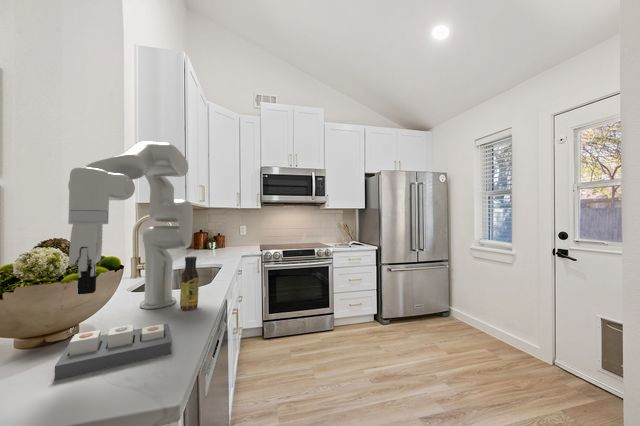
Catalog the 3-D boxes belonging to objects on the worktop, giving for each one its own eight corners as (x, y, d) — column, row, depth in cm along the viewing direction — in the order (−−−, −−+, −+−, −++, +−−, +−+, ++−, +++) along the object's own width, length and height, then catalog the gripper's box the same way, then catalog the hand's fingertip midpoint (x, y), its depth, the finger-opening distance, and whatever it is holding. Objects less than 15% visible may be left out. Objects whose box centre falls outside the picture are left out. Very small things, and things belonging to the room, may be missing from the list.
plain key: (110, 343, 70) (110, 327, 70) (133, 339, 73) (133, 324, 73) (107, 351, 66) (107, 335, 66) (132, 346, 69) (132, 330, 69)
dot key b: (74, 350, 67) (75, 333, 67) (100, 345, 69) (100, 329, 69) (69, 359, 62) (69, 341, 63) (97, 353, 65) (97, 336, 65)
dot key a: (142, 342, 74) (142, 327, 74) (163, 338, 77) (163, 323, 77) (141, 349, 70) (141, 334, 70) (163, 345, 73) (163, 330, 73)
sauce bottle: (190, 312, 100) (191, 258, 100) (176, 310, 101) (177, 257, 101) (201, 306, 106) (202, 256, 106) (188, 305, 107) (188, 255, 108)
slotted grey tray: (71, 352, 70) (71, 340, 70) (168, 333, 81) (168, 323, 81) (54, 380, 58) (54, 366, 58) (170, 353, 69) (171, 341, 70)
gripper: (76, 218, 71) (73, 288, 70) (59, 218, 58) (56, 303, 58) (112, 218, 75) (110, 284, 74) (103, 218, 62) (101, 298, 62)
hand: (86, 292), depth 66 cm, fingers closed
